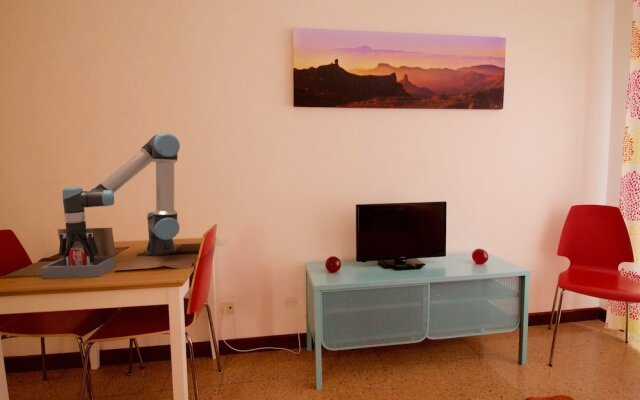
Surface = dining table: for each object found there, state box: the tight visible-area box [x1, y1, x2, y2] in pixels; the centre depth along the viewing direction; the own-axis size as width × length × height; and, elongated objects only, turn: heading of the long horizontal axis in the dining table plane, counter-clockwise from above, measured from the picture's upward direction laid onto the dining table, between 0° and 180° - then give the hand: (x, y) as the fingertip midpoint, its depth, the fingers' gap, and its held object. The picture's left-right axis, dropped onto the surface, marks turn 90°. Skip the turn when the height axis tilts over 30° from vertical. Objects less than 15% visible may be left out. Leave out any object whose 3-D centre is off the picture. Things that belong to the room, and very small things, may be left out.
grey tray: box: [40, 256, 116, 279], centre depth 158 cm, size 24×14×5 cm, turn 95°
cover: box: [57, 227, 116, 258], centre depth 164 cm, size 24×14×2 cm
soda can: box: [69, 246, 88, 266], centre depth 158 cm, size 7×7×12 cm
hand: (80, 269), depth 158 cm, fingers open, 8 cm apart
